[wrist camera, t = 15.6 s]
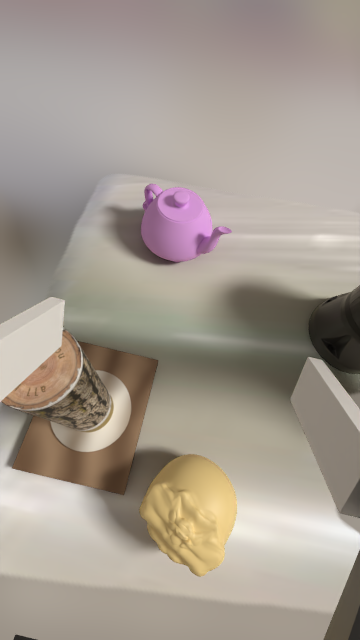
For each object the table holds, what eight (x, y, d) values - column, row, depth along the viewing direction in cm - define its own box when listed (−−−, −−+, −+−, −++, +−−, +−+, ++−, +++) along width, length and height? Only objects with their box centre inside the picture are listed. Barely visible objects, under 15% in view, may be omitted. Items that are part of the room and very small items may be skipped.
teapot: (235, 252, 63) (254, 209, 52) (193, 294, 58) (204, 256, 47) (165, 200, 67) (169, 150, 56) (120, 235, 62) (114, 187, 51)
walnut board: (157, 362, 51) (158, 359, 49) (124, 493, 43) (123, 495, 41) (67, 341, 51) (64, 337, 49) (16, 467, 43) (10, 468, 41)
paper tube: (92, 442, 43) (32, 430, 20) (58, 413, 44) (-34, 371, 22) (123, 404, 46) (100, 356, 23) (90, 378, 47) (37, 307, 24)
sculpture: (128, 505, 42) (123, 521, 32) (184, 438, 47) (194, 434, 37) (188, 571, 40) (202, 609, 30) (241, 494, 44) (268, 505, 34)
